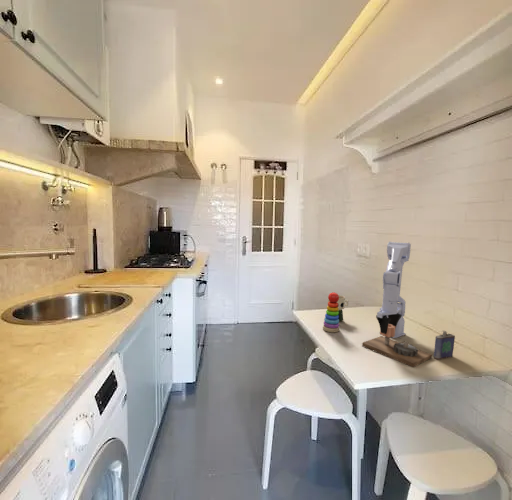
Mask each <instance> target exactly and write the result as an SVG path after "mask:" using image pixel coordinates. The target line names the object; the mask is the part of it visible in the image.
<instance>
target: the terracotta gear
mask: <svg viewBox="0 0 512 500" xmlns="http://www.w3.org/2000/svg"><path fill="white" fill-rule="evenodd" d="M395 327H396V326H393V325H392V324H388V329H387V333H386V334H384V333H381V330H379V334H380V336H383V337H385V336H387V337H390V338H393V337H394V336H395Z"/></svg>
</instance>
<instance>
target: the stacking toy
mask: <svg viewBox="0 0 512 500" xmlns="http://www.w3.org/2000/svg"><path fill="white" fill-rule="evenodd" d="M338 295H339V294H338V293H337V292H330V293H329V294H328V296H327V298H328V299H327V300H329V301H330V302H328V301H327V306H326V309H327V310H325V311H326V312H325V315H324V316H325V317H324V319H323V326H322V329H323V331H326V332H327V333H338V332H339V331H340V321H339V319H338V318H339V316H338V314H339V312H338V310H339V308H338V303H337V301H338V300H339V296H338Z"/></svg>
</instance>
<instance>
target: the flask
mask: <svg viewBox="0 0 512 500" xmlns="http://www.w3.org/2000/svg"><path fill="white" fill-rule="evenodd" d="M455 339H456V336H455V335H454V334H452V333H448V332H447V331H446V330H443V331H442V334H439V335H436V336H435V339H434V341H435V342H434V350H433V358H434V359H435V360H444V359H449V358H450V359H451V358H453V357H454V355H453V354H454V349H455V348H454V347H455V341H456V340H455Z"/></svg>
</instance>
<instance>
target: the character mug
mask: <svg viewBox="0 0 512 500" xmlns="http://www.w3.org/2000/svg"><path fill="white" fill-rule="evenodd" d="M338 296H339V300H338V301H337V303H338V308H339V310H338V312H339V314H338V316H339V318H338V319H339V322H342V321H344V313H343V310H344V309H345V307H348V306H349V300H348V299H346V296H344V295H340V294H338ZM328 302H330V301H329V299H327V303H328Z"/></svg>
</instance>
